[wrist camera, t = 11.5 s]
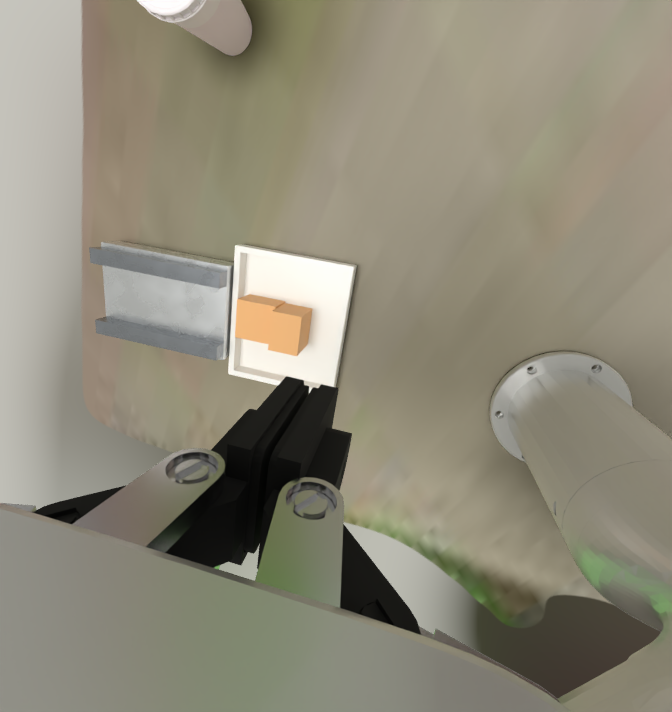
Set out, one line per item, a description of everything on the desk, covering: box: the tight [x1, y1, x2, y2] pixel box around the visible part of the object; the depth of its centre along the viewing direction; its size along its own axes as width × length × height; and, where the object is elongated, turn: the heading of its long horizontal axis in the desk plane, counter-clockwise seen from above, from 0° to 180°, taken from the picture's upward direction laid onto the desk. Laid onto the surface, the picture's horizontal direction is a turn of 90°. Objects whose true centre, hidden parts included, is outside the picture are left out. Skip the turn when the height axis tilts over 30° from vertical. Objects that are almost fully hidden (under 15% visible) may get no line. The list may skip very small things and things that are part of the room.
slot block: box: [89, 241, 234, 360], centre depth 39 cm, size 14×10×4 cm
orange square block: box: [268, 303, 312, 356], centre depth 37 cm, size 4×4×3 cm
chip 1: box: [235, 294, 285, 344], centre depth 38 cm, size 4×4×3 cm
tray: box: [228, 244, 357, 393], centre depth 38 cm, size 12×14×2 cm
